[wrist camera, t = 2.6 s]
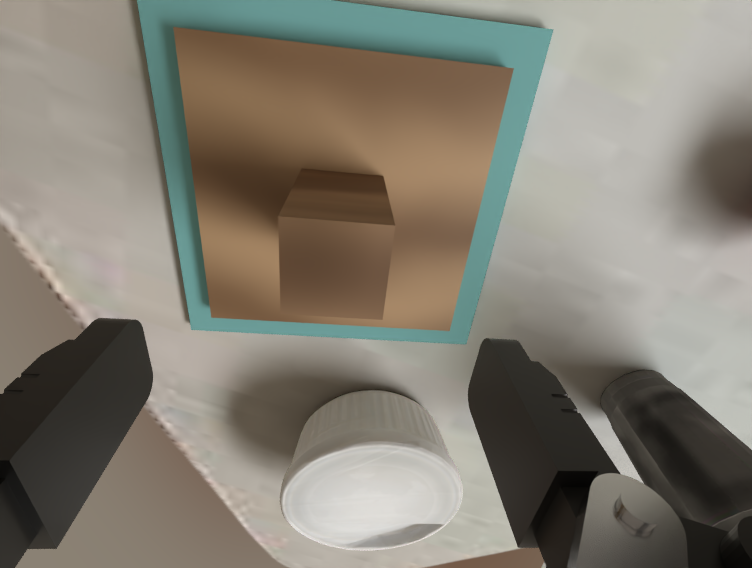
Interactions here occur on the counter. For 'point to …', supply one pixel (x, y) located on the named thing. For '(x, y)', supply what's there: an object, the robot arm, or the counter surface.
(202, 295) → the mat
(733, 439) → the beverage cup
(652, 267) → the counter surface
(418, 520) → the ramekin
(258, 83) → the lid
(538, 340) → the counter surface
